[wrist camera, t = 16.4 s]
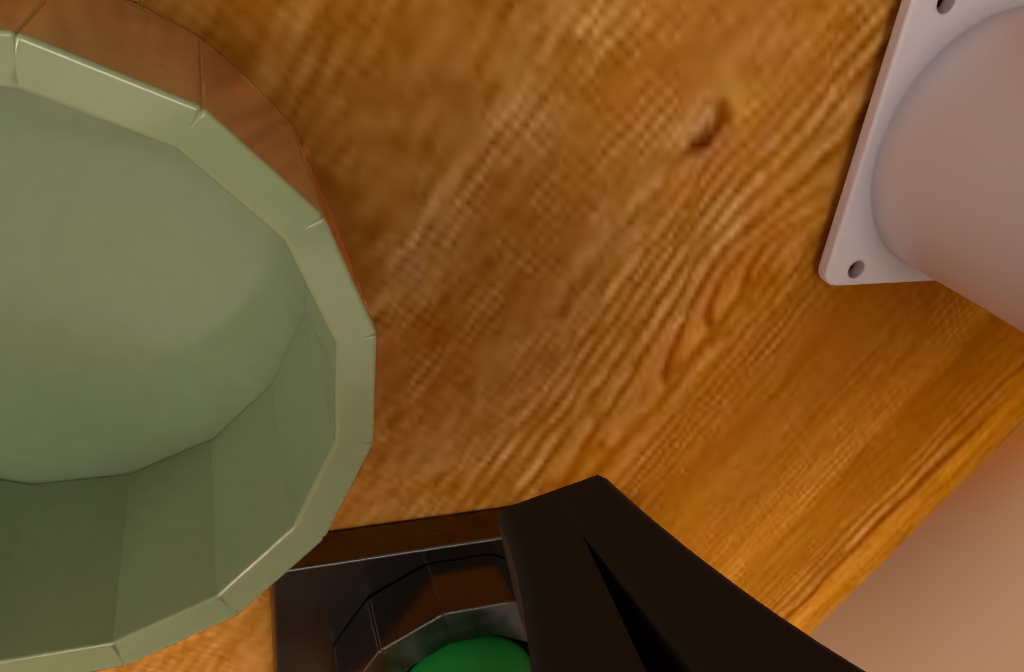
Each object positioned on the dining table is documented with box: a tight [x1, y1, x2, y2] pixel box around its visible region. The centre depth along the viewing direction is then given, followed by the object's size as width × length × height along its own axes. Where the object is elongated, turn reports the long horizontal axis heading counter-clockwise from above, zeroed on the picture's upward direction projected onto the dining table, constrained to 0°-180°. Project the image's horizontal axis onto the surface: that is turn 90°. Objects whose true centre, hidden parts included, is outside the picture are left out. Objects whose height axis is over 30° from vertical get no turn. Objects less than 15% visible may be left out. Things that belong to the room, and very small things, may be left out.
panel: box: [270, 508, 530, 672], centre depth 24 cm, size 10×8×3 cm
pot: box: [0, 0, 377, 672], centre depth 15 cm, size 11×11×5 cm
